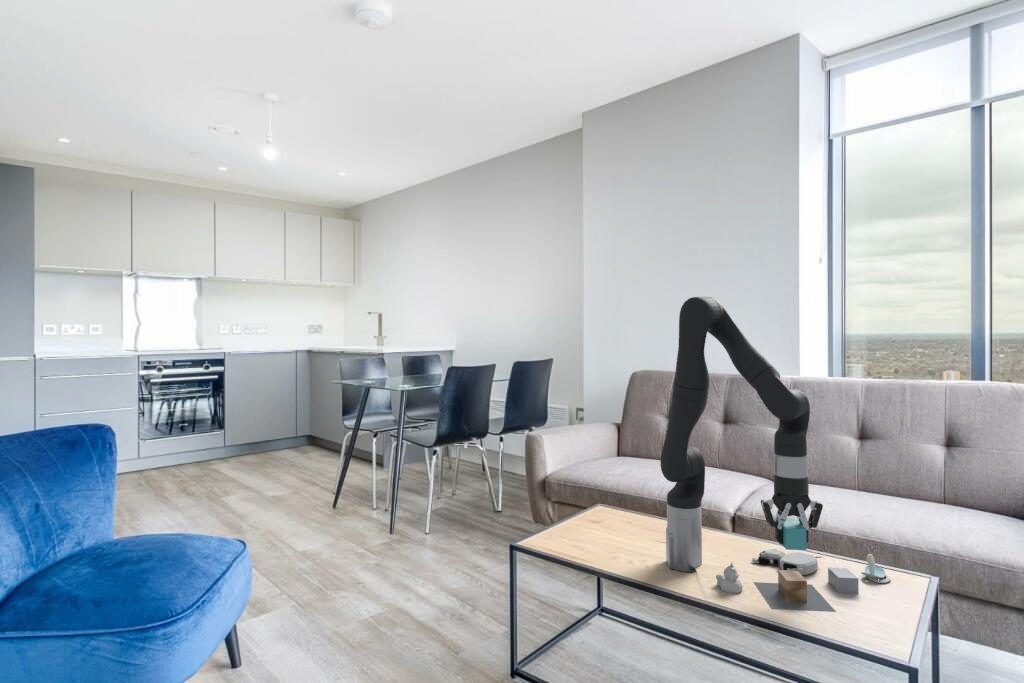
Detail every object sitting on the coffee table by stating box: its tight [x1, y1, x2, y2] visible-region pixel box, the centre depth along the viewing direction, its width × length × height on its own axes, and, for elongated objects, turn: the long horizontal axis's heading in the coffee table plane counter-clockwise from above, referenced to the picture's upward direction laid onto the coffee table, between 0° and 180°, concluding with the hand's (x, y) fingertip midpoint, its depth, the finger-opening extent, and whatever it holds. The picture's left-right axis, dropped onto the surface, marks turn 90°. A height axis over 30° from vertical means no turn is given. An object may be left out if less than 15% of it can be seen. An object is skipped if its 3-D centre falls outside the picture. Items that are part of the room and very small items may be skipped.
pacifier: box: [861, 553, 891, 584], centre depth 147 cm, size 7×6×6 cm
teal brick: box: [782, 520, 808, 551], centre depth 135 cm, size 4×6×5 cm
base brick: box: [777, 569, 808, 602], centre depth 136 cm, size 4×6×5 cm
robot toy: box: [751, 548, 823, 576], centre depth 154 cm, size 12×4×15 cm
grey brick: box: [827, 567, 860, 595], centre depth 140 cm, size 4×6×5 cm
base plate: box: [753, 581, 837, 613], centre depth 136 cm, size 14×14×1 cm
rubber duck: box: [715, 562, 743, 594], centre depth 140 cm, size 5×7×8 cm
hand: (791, 543), depth 135 cm, fingers closed on teal brick, 4 cm apart
